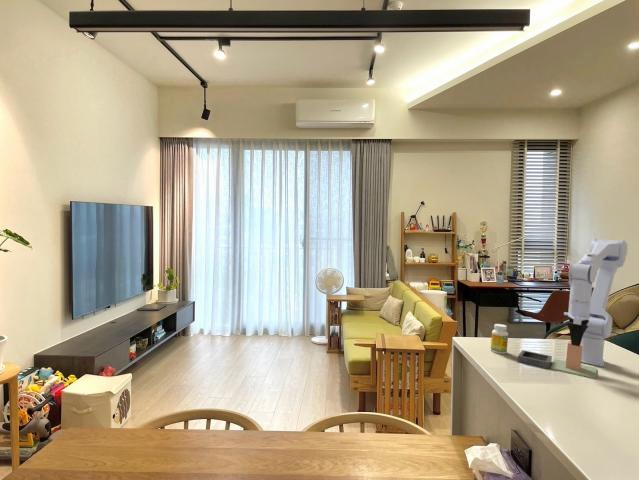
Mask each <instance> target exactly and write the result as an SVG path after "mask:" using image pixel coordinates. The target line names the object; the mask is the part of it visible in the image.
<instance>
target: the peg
mask: <svg viewBox="0 0 639 480" xmlns="http://www.w3.org/2000/svg"><path fill="white" fill-rule="evenodd" d="M566 346H567V348H566V349H567V350H566V360H565V361H566V368H570V369H574V370H579V371H580V370H581V365H582V362H581V359H582V348H583V343H581V344H580V346H575V345H572V344H571V340H567V345H566Z"/></svg>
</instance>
